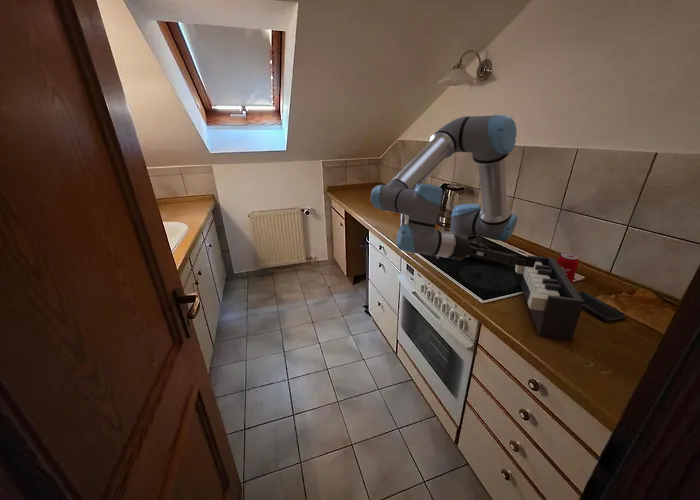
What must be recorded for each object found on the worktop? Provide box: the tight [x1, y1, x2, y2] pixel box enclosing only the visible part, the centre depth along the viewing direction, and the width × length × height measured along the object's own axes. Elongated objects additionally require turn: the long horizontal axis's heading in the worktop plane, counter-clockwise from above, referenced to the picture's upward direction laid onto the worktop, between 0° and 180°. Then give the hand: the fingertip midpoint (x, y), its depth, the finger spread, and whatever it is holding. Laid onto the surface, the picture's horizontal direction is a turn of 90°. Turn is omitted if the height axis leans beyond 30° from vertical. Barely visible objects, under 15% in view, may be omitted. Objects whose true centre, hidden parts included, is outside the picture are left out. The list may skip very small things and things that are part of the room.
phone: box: [577, 291, 626, 323], centre depth 98 cm, size 8×1×15 cm
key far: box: [514, 262, 542, 275], centre depth 105 cm, size 3×8×4 cm, turn 71°
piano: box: [520, 254, 584, 342], centre depth 95 cm, size 29×10×13 cm, turn 161°
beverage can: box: [556, 252, 580, 284], centre depth 110 cm, size 6×6×12 cm
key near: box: [527, 292, 557, 311], centre depth 85 cm, size 3×8×4 cm, turn 71°
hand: (519, 257), depth 88 cm, fingers open, 13 cm apart
